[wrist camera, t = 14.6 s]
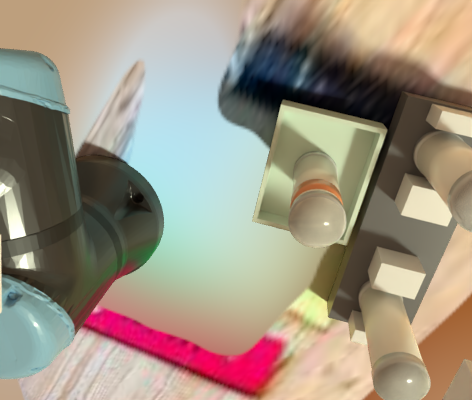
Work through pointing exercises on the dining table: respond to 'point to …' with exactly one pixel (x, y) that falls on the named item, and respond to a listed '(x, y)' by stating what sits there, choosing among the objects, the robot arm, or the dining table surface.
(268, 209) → the tray
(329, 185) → the marked fuse
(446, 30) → the dining table surface
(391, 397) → the cylinder
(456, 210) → the fuse near
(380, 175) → the block
